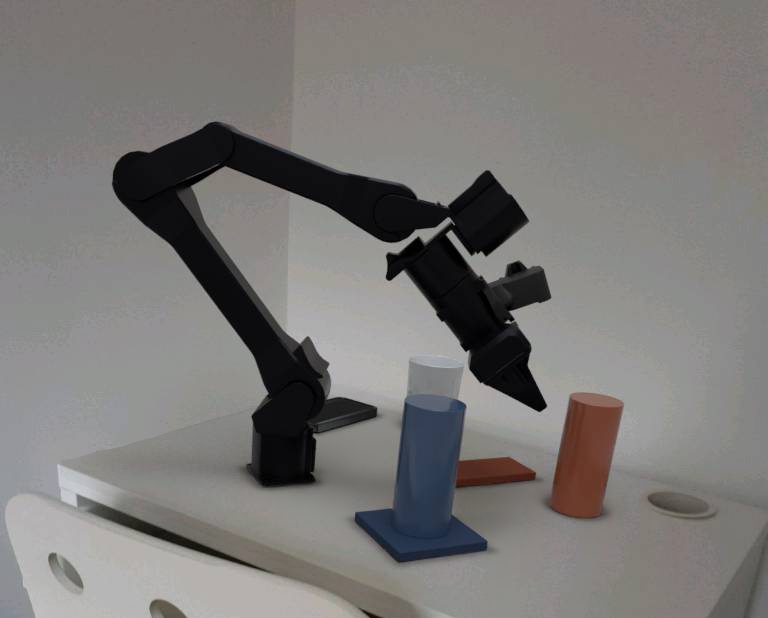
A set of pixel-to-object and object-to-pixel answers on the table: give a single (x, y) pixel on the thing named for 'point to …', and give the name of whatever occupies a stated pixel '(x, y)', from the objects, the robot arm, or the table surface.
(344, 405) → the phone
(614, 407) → the terracotta cylinder
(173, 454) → the table surface
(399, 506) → the blue cylinder
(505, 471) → the terracotta mat
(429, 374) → the white cup
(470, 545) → the blue mat
